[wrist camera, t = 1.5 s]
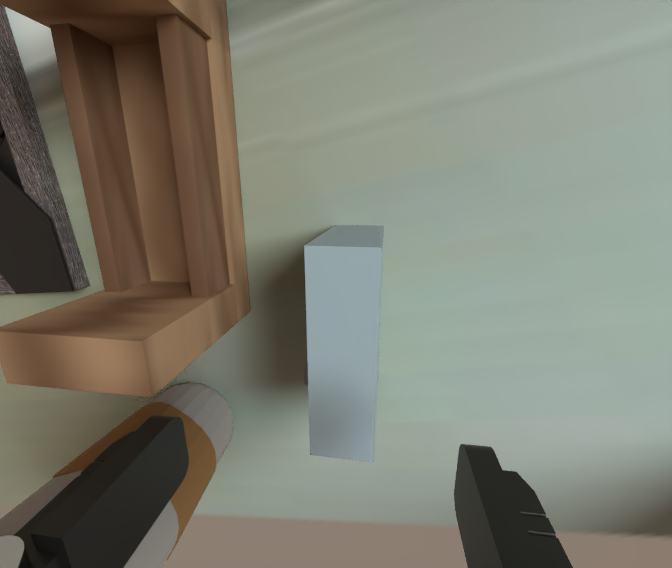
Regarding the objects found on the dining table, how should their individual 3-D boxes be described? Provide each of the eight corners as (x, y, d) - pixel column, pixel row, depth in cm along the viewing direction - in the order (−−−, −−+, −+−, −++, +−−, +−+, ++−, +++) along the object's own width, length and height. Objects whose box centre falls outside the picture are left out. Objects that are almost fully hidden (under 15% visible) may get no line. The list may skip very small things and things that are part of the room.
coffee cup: (181, 466, 28) (-35, 755, 14) (132, 383, 26) (-173, 616, 12) (265, 445, 26) (116, 760, 12) (218, 355, 24) (-24, 593, 10)
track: (225, 1, 18) (39, -218, 8) (250, 310, 23) (152, 397, 13) (111, 11, 19) (-173, -173, 9) (159, 305, 24) (6, 383, 14)
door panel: (383, 225, 20) (381, 247, 12) (378, 370, 23) (373, 462, 15) (322, 224, 20) (284, 245, 13) (324, 366, 23) (293, 452, 16)
